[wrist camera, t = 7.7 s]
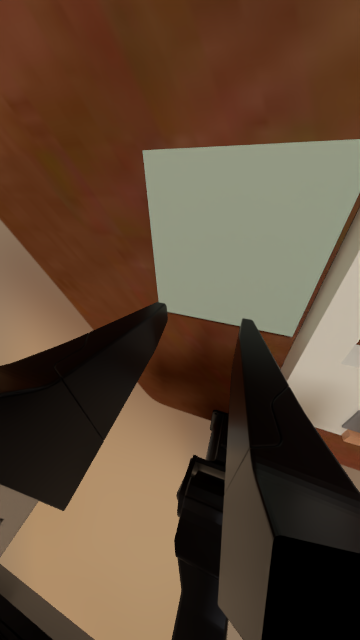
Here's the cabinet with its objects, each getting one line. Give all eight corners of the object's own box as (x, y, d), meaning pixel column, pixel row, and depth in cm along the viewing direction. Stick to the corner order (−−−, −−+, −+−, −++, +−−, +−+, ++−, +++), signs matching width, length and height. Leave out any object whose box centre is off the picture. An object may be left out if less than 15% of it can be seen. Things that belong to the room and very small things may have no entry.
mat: (291, 332, 16) (292, 336, 16) (162, 306, 20) (159, 310, 19) (379, 139, 9) (384, 138, 9) (147, 150, 12) (142, 150, 12)
